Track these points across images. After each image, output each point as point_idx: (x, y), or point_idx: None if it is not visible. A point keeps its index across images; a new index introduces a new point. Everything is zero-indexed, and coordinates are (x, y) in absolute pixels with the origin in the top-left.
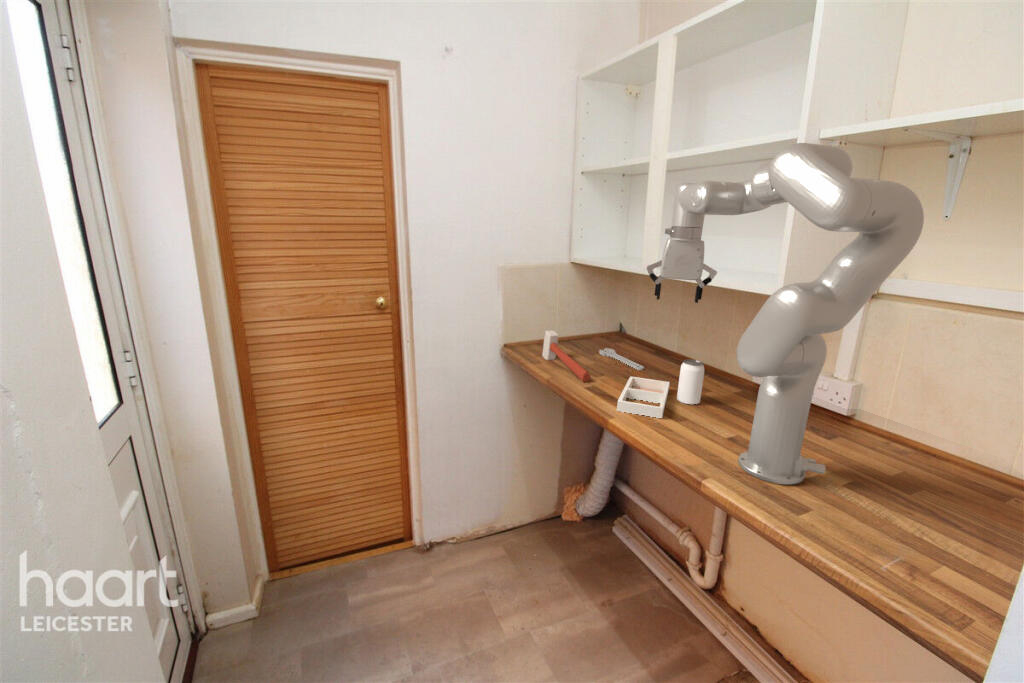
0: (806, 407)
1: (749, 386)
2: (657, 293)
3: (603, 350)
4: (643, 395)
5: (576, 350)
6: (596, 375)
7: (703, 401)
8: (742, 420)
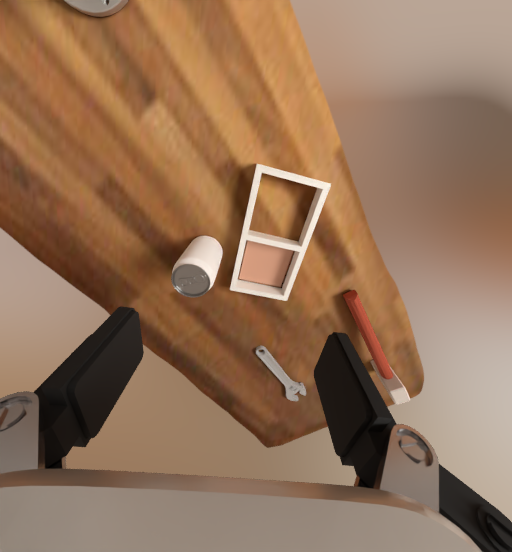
0: None
1: None
2: (358, 357)
3: (301, 393)
4: (275, 238)
5: None
6: (325, 318)
7: None
8: (129, 189)
